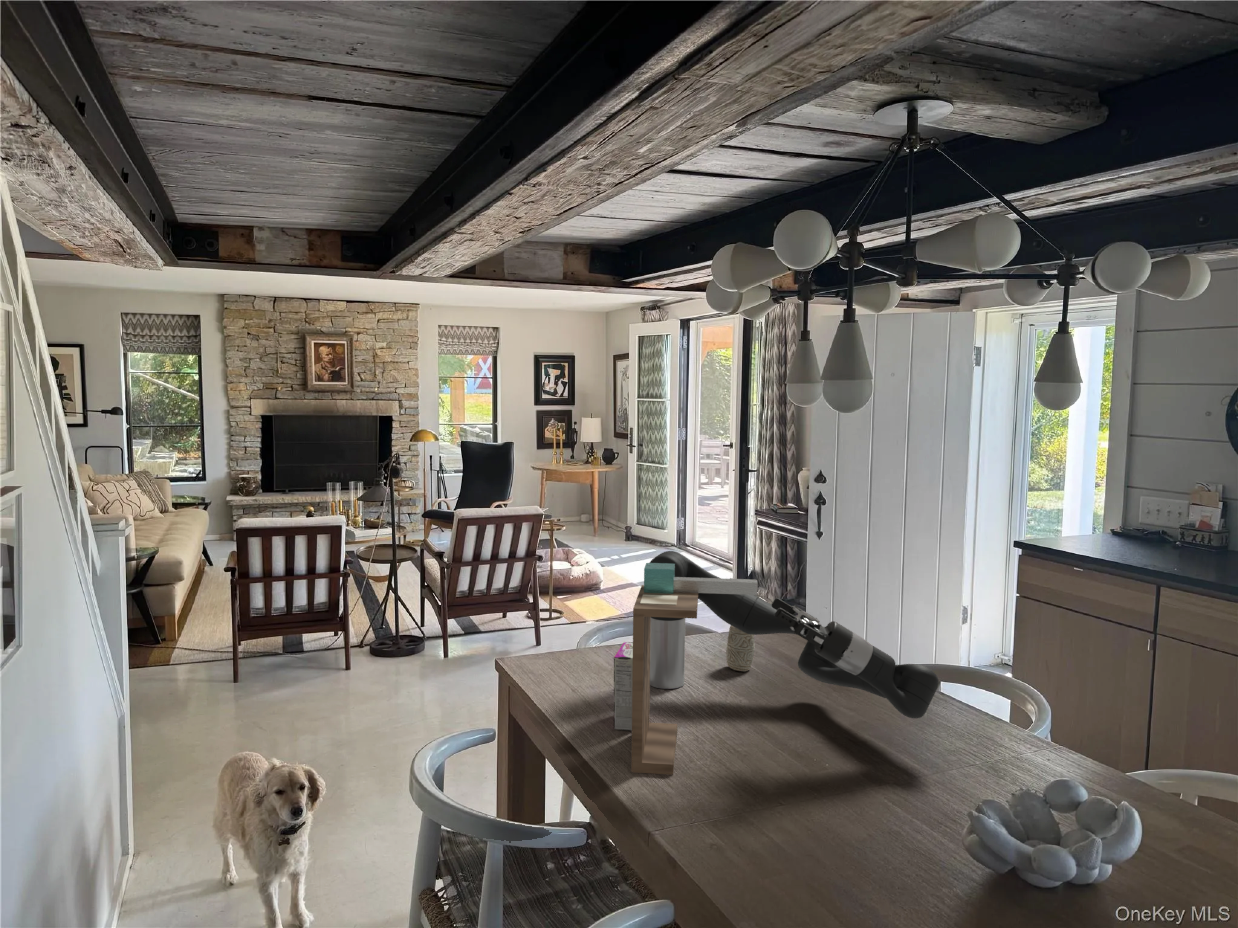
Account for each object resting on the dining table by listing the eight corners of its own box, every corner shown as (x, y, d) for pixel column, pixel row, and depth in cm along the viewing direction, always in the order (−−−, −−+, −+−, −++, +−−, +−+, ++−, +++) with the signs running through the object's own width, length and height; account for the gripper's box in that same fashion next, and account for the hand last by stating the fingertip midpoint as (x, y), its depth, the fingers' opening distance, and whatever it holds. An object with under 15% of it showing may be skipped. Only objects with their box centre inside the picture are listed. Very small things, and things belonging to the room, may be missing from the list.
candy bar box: (622, 711, 190) (623, 641, 189) (643, 713, 189) (644, 642, 188) (612, 730, 179) (612, 655, 178) (634, 732, 178) (635, 657, 177)
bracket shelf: (640, 730, 179) (641, 583, 176) (695, 733, 177) (698, 585, 175) (631, 772, 159) (633, 607, 156) (694, 775, 158) (697, 609, 155)
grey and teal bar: (646, 586, 175) (646, 562, 175) (756, 589, 173) (756, 566, 172) (643, 592, 169) (644, 568, 169) (757, 596, 167) (758, 572, 166)
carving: (750, 674, 216) (751, 629, 216) (722, 670, 220) (723, 625, 219) (757, 667, 222) (758, 623, 221) (730, 663, 225) (731, 620, 224)
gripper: (848, 623, 175) (781, 583, 176) (860, 643, 161) (787, 599, 162) (829, 652, 176) (763, 613, 177) (839, 674, 162) (767, 631, 163)
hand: (774, 606), depth 170 cm, fingers open, 8 cm apart
